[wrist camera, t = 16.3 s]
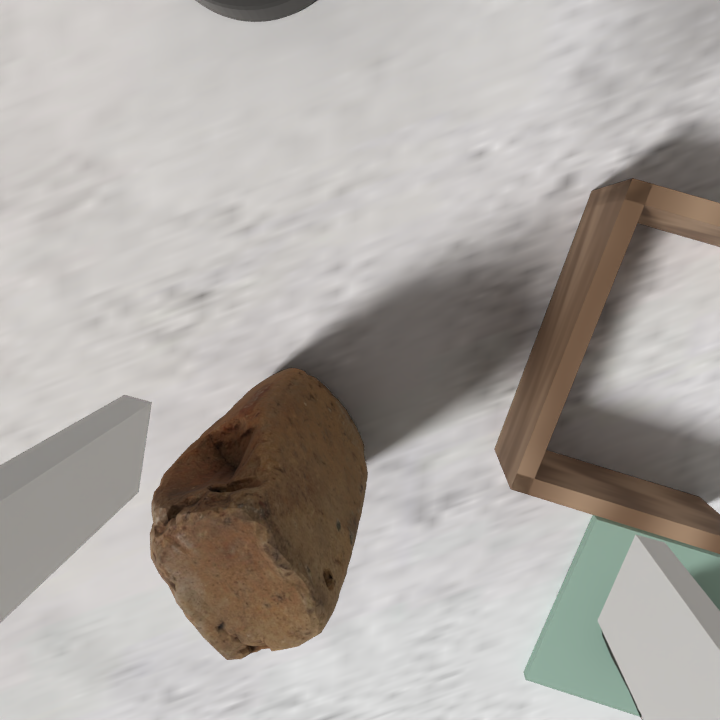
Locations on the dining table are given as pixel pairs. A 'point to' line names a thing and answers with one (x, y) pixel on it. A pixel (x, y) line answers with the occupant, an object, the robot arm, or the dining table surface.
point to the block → (263, 517)
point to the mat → (584, 605)
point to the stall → (565, 353)
